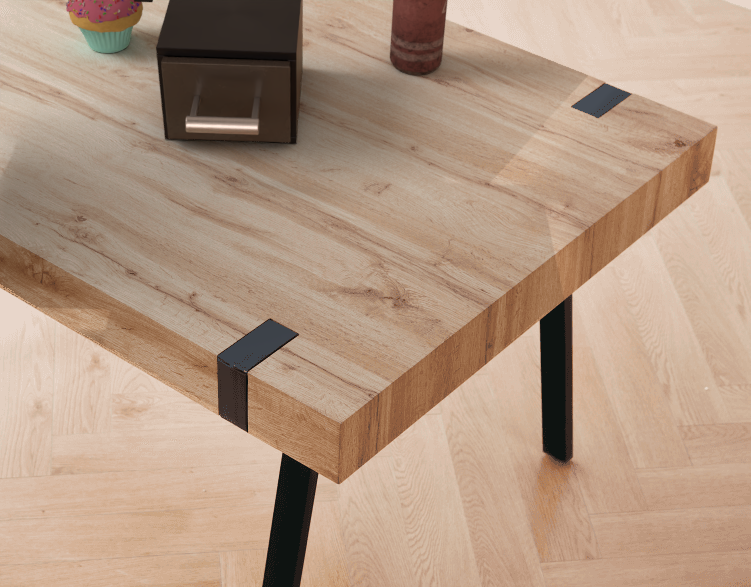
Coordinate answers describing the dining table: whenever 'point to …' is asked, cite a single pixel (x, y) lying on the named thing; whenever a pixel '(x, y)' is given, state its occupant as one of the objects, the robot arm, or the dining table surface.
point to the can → (417, 35)
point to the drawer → (227, 98)
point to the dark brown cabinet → (235, 38)
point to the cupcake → (105, 22)
